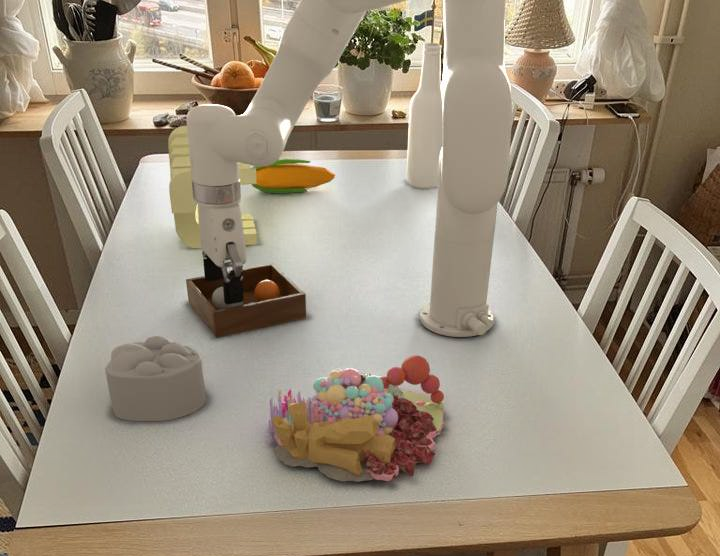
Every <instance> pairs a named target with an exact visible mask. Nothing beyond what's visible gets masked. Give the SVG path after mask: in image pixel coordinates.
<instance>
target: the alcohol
mask: <svg viewBox="0 0 720 556" xmlns="http://www.w3.org/2000/svg"><path fill="white" fill-rule="evenodd" d="M422 48H423V50H422V54H423V55H422V63H421V72H420V79H419V85H418V88H417V91H416V92H415V93H414V94H413V96H412V97H411V99H410V102H409V108H408V128H407V129H408V131H407V152H406V153H407V154H406V174H405V175H406V176H405V179H406V181H407V183H408V185H410V186H411V187H415V188H419V189H433V188H438V162H439V155H440V151H441V148H442V137H443V112H442V98H441V54H442V51H441V50H442V45H441V44H440V43H436V42H428V43H424V44H423V47H422Z"/></svg>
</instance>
